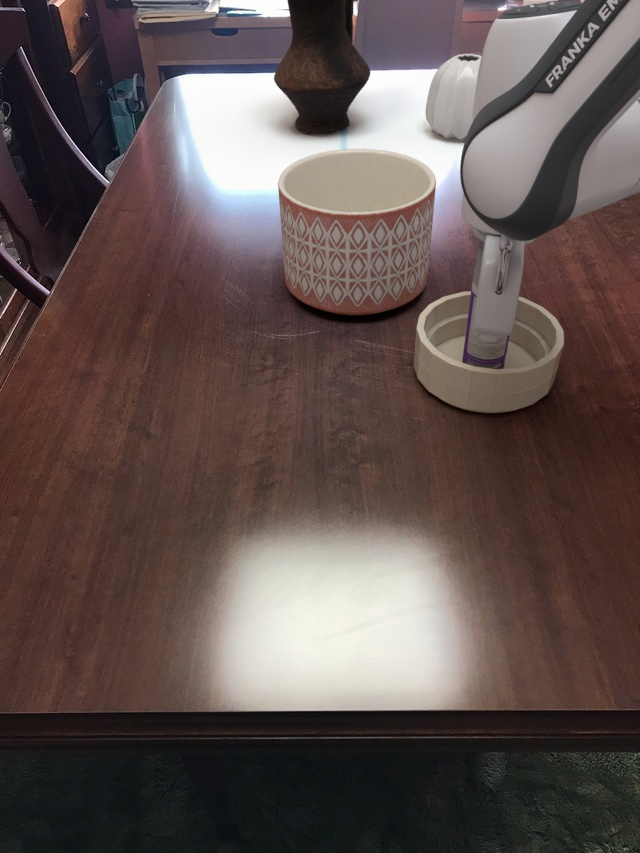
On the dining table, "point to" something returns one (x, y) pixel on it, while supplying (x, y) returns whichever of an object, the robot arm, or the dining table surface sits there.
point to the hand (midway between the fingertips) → (490, 322)
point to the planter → (356, 229)
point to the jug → (321, 65)
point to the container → (474, 347)
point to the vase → (453, 96)
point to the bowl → (483, 387)
